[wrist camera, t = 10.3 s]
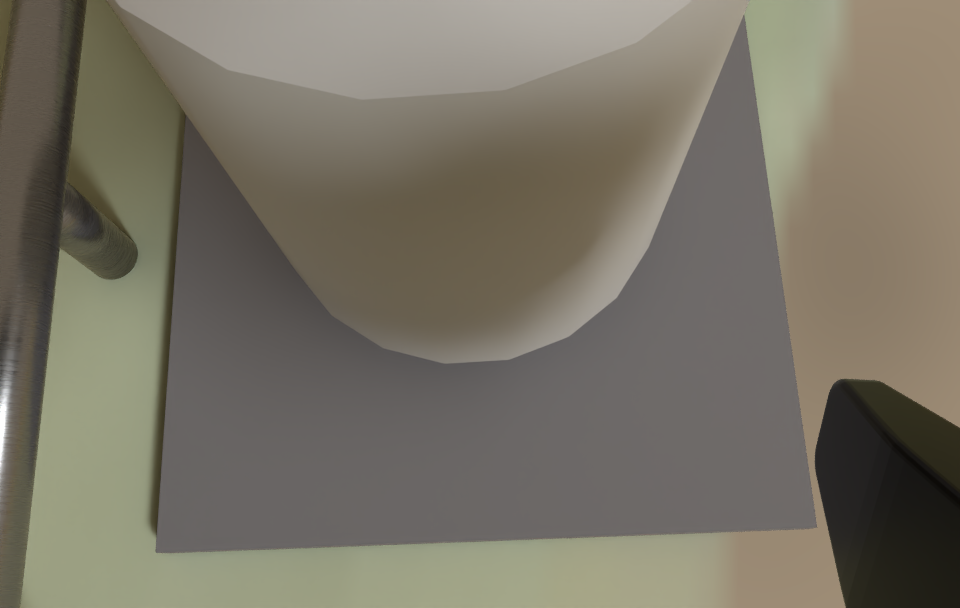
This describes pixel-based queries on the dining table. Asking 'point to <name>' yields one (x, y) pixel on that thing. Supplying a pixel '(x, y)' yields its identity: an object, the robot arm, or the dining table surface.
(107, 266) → the rail
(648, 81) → the can
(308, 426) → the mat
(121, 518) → the dining table surface
